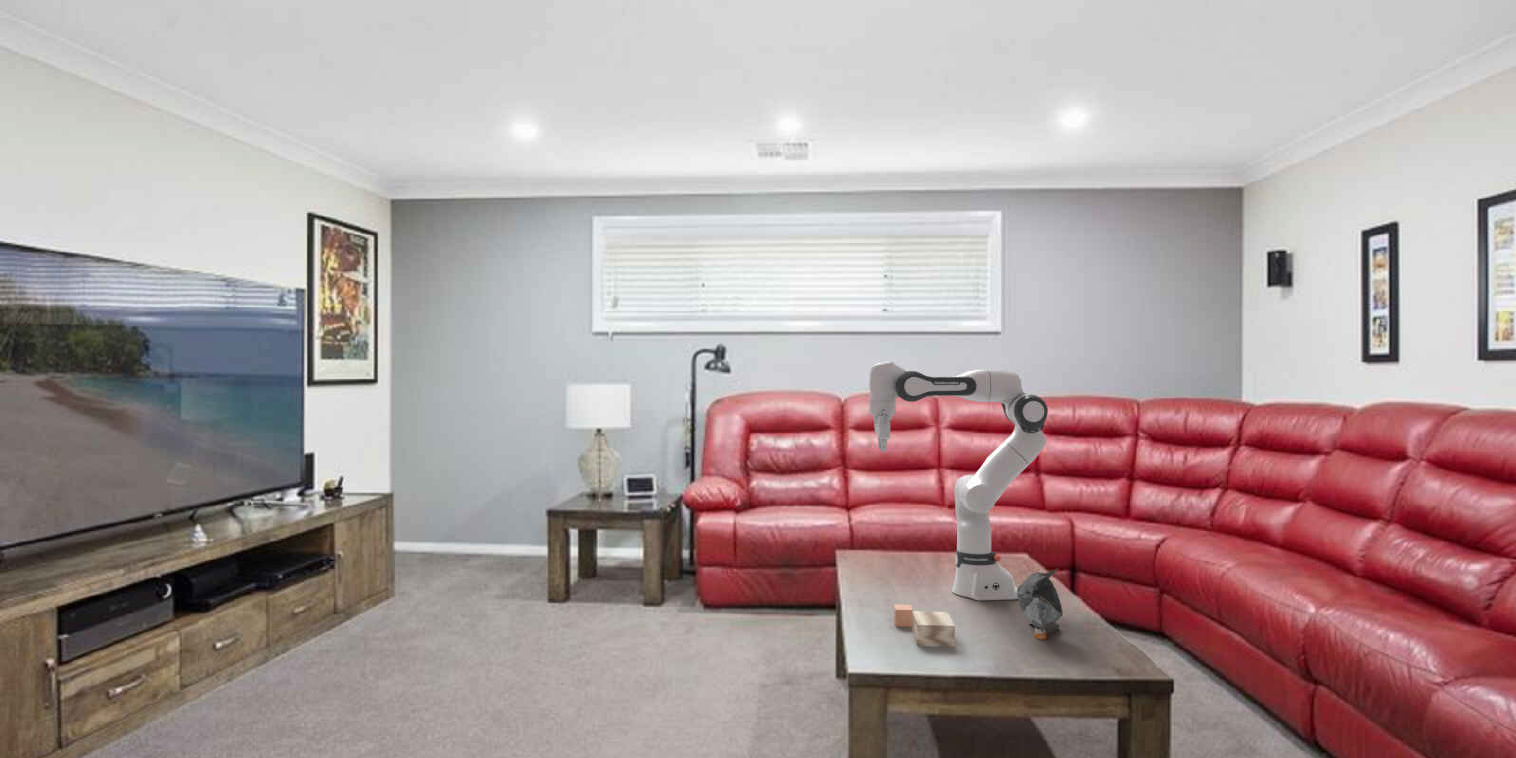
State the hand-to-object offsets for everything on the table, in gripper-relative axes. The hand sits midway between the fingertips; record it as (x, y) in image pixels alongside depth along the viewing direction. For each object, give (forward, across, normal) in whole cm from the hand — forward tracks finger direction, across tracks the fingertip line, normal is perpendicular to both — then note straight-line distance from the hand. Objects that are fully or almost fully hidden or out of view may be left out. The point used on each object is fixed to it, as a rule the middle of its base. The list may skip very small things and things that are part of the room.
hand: (882, 450), depth 259 cm
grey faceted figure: (+48, -40, -42) cm, 75 cm away
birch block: (+48, -46, -11) cm, 67 cm away
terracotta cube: (+48, -34, -4) cm, 59 cm away
